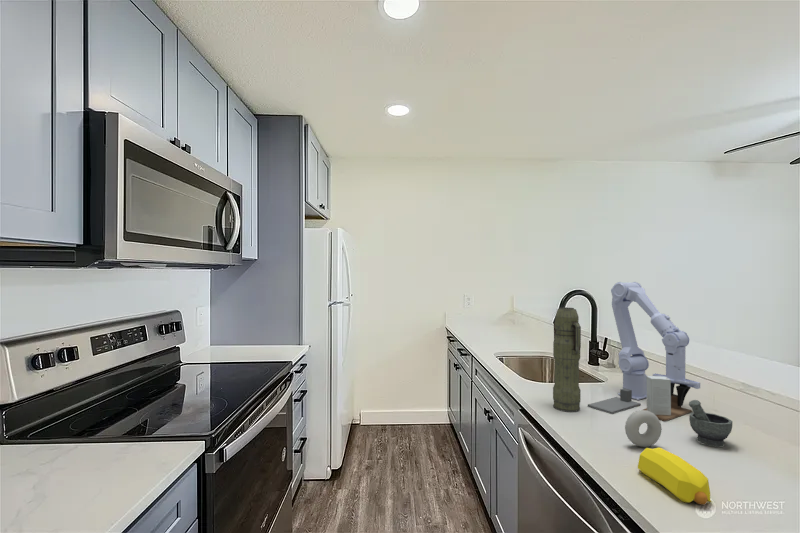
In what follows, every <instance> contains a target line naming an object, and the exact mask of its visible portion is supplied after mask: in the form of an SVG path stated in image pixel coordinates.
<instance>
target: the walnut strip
mask: <svg viewBox="0 0 800 533" xmlns="http://www.w3.org/2000/svg"><path fill="white" fill-rule="evenodd" d="M642 410H646V411H647V407H645V408H644V409H642ZM691 413H693V410H692V409H688V408H685V407H683V406H678V395H677V394H675V393H673V394H672V395H671V416H669V415H656V416H657V417H658V419H659V421H663V422H668V421H670V420H673V419H677V418H678V417H681V416H685V415H687V414H691Z"/></svg>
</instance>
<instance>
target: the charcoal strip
mask: <svg viewBox="0 0 800 533" xmlns="http://www.w3.org/2000/svg"><path fill="white" fill-rule="evenodd" d="M619 391H620V392H619V393H620V395H619V396H620V397H618V396H614V397H611V398H607V399H606V398H605V399H603V400H599V401H595V402H593V403H589V404H587V407H588V408H592V409H596V410H599V411H602V412H606V413H608V414H612V415H613V414H616V413H619V412H623V411H625V410H629V409H632V408H637V407H638V406H639V407H640V406H641V404H642V403H641V402H637V401H633V398H632V390H630V389H626V388H624V389H623V388H621V389H620V390H619Z"/></svg>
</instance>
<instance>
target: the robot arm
mask: <svg viewBox="0 0 800 533" xmlns="http://www.w3.org/2000/svg"><path fill="white" fill-rule="evenodd" d="M610 293H611V297H612V298H611V307H612V312H613V317H614V320H615V321H614V322H615V325H616V328H617V331H618V338H619V342H620V345H621V349H620V351H619V352H618V367H619V369H620V371H621V373H622V389H624V388H626V389H630V390H632V400H638V401H639V400H643V399H647V376H648V375H647V374H646V371H647V370H648V368H649V366H650V363H649V360H648V358H647V357H646V356H645V352H644V350H642V349H641V348H640V347H639V346H638V341H637V337H636V334H635V328H634V325H633V322H632V318H631V313H630V310H629V306H630V305H631V304H632V303H633V302H635V303H636V304H638V306H640V308H641V309H642V310H643V311H644V313H646V314H647V315H648V316H649V317H650V324H651V325H652V326H653V328H654V329H655V330H656V331H657V333H658V334H659V335H660V336H661V342H662V344H663V346H664V350H665V374H661V373H652V376H664V377H667V378H669V379H670V380H671V395H672V394H674V391H675V389H676V393H677V394H676V395H678V406H681V407H683V405H684V401H685V399H686V396H687V394H688V393H689V391H690V389H691V388H694V389H695V390H699V389H701V382H699V381H695V380H692V379H687V378H686V347H688V345H689V344H690V337H689V335H688V333H687V332H686V331H684V330H681V329H680V328H679V327H678V326H676V325H675V324H674V323H673V321H672V320H671V317H670V316H669V315H667V314H666V313H662V312H660V311H659V309H657V307H656V305H655V304H654V302H652V300H651V299H650V297H649V296H648V295H647V293H646V289H645V288H644V287H642V285H641V283H639V282H637V281H632V282H629V281H627V282H622V281H617V282H616V283H614V285H613V286H612V288H611V289H610ZM675 385H676V386H675ZM617 395H618V396H620V392H618V393H617Z"/></svg>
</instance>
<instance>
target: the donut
mask: <svg viewBox="0 0 800 533" xmlns="http://www.w3.org/2000/svg"><path fill="white" fill-rule="evenodd" d="M642 424H646V425H647V426H646V427H647V429H646V431H645V432H644V433H640V427H641V425H642ZM662 429H663V428H662V424H661V420H659V419H658V417H657V416H656V415H655V414H653V413H652V412H650V411H646V410H643V409H641V410H639V409H638V410H636V411H634V412H632V413H631V414H629V416H628V417H627V418H626V421H625V425H624V431H625V432H624V433H625V435H626V437H627V439H628V440H629V441H630V442H631V444H633V445H635V446H637V447H641V448H649V447H651V446H653V445H655V444H656V443H657V442H658V441H659V440H660V437H661V434H662Z"/></svg>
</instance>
